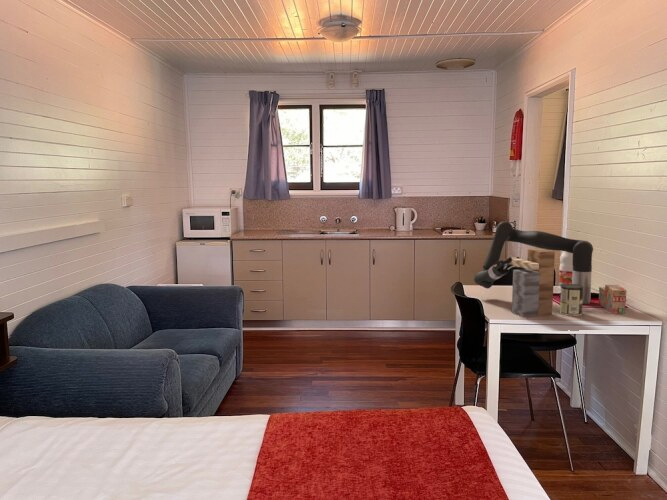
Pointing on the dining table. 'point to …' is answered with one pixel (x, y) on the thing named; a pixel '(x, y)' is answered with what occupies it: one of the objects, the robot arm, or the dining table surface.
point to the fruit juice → (565, 268)
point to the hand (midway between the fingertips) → (515, 258)
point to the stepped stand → (534, 286)
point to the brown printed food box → (613, 298)
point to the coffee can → (571, 299)
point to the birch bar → (524, 264)
